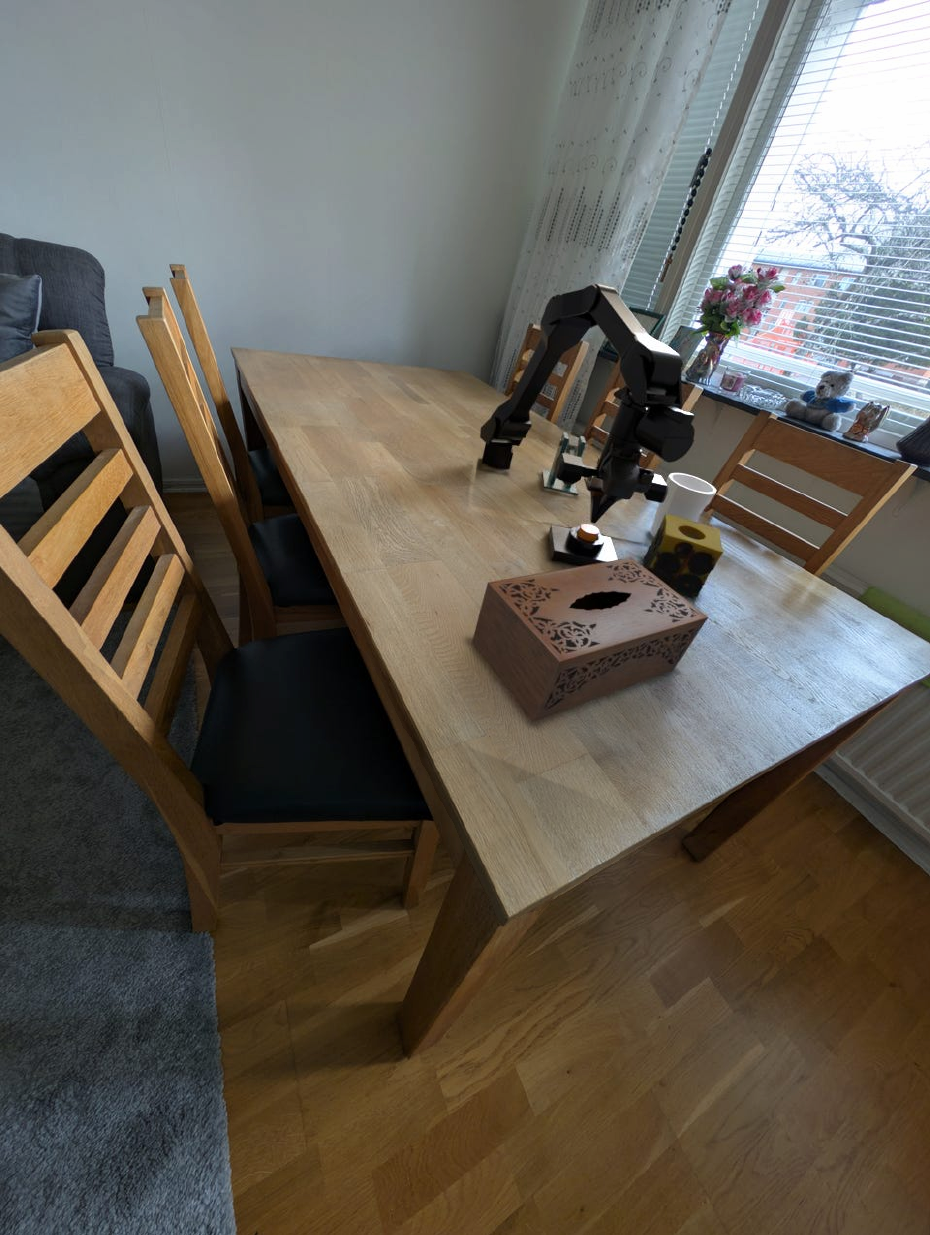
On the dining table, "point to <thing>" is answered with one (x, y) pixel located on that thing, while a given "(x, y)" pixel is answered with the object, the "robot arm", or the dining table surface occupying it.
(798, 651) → the dining table surface
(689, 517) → the foam cup
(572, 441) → the lever
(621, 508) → the dining table surface
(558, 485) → the teal pendulum stand
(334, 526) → the dining table surface
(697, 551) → the yellow cube tissue box
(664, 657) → the tissue box cover
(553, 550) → the button box
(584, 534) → the button
